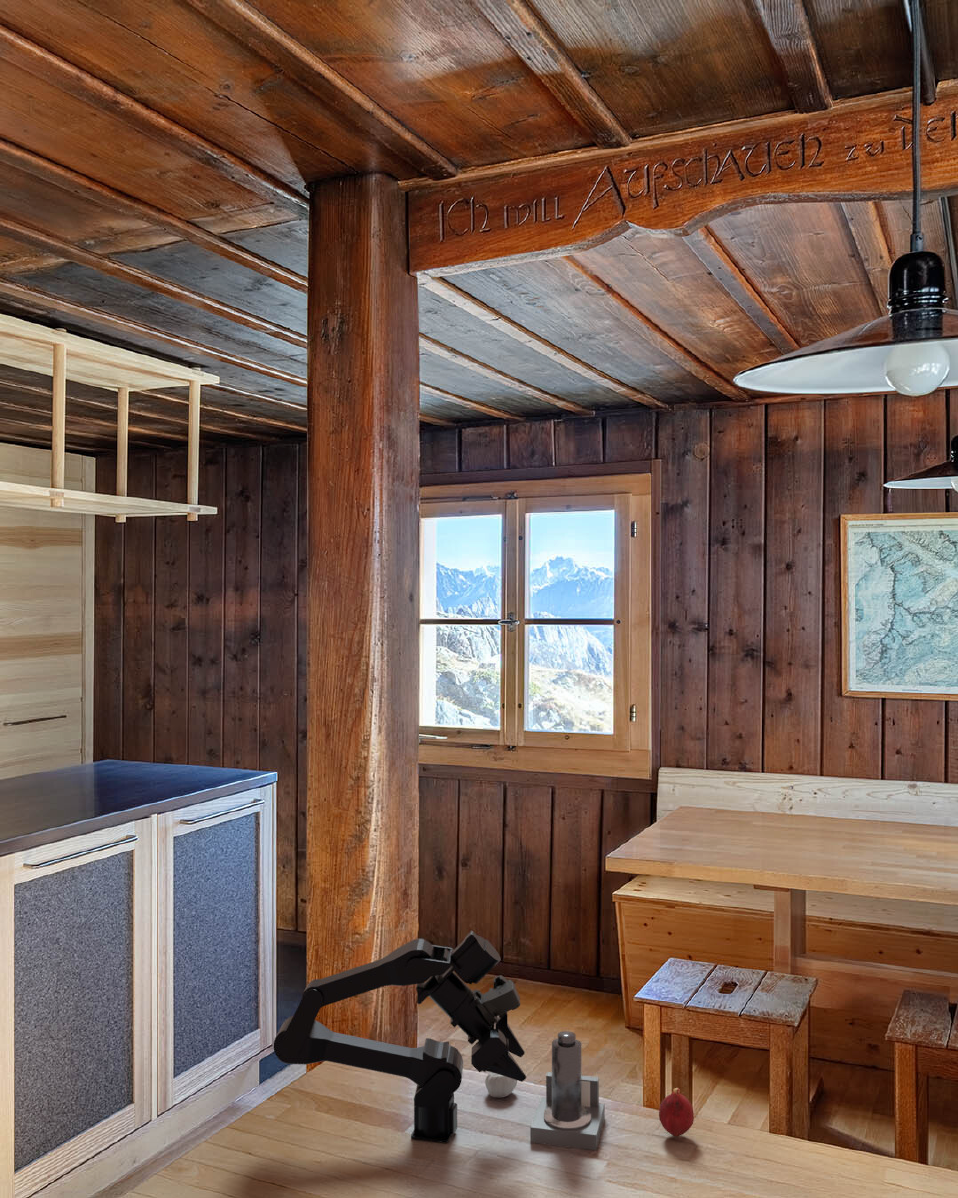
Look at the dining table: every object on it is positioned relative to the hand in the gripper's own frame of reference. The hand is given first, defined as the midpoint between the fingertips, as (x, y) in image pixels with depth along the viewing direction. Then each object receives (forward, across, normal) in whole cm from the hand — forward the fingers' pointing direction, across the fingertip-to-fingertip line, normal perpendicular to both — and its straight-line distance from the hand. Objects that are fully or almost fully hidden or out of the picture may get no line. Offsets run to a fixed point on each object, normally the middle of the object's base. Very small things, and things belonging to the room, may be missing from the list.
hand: (523, 1067), depth 179 cm
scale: (+13, +1, +2) cm, 13 cm away
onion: (+26, -1, -10) cm, 28 cm away
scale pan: (+11, 0, +1) cm, 11 cm away
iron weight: (+11, 0, 0) cm, 11 cm away
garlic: (+5, +14, +11) cm, 18 cm away
